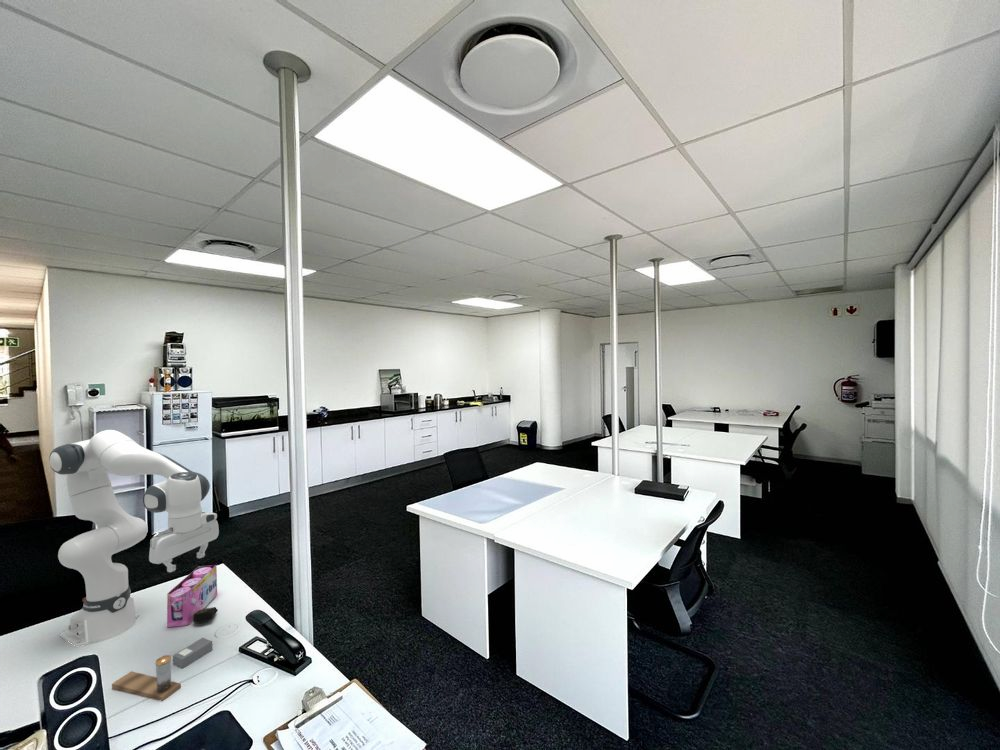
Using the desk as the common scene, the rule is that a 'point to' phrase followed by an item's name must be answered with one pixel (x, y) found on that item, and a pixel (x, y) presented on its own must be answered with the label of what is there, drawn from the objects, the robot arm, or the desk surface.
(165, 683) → the grey metal cylinder
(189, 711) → the desk surface
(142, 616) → the desk surface
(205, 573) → the gum box
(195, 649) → the block
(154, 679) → the strip
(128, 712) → the desk surface
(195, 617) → the tape measure
